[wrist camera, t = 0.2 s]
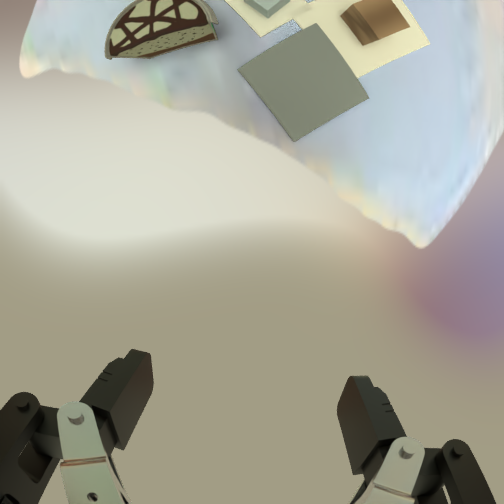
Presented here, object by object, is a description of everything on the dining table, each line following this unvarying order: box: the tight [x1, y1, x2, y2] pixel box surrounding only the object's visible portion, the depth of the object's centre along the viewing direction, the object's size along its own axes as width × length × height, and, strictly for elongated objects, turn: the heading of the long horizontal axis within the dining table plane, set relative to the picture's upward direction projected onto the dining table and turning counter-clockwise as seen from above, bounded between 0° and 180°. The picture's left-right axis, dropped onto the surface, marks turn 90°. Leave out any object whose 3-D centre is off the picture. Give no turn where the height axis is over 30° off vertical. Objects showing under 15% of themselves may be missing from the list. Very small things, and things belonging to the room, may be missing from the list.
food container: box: [105, 0, 218, 60], centre depth 21 cm, size 12×6×10 cm, turn 99°
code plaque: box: [289, 0, 430, 78], centre depth 23 cm, size 12×16×1 cm
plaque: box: [225, 0, 309, 38], centre depth 22 cm, size 8×8×1 cm
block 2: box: [340, 0, 410, 46], centre depth 20 cm, size 5×5×6 cm
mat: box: [238, 23, 369, 142], centre depth 28 cm, size 12×12×1 cm
